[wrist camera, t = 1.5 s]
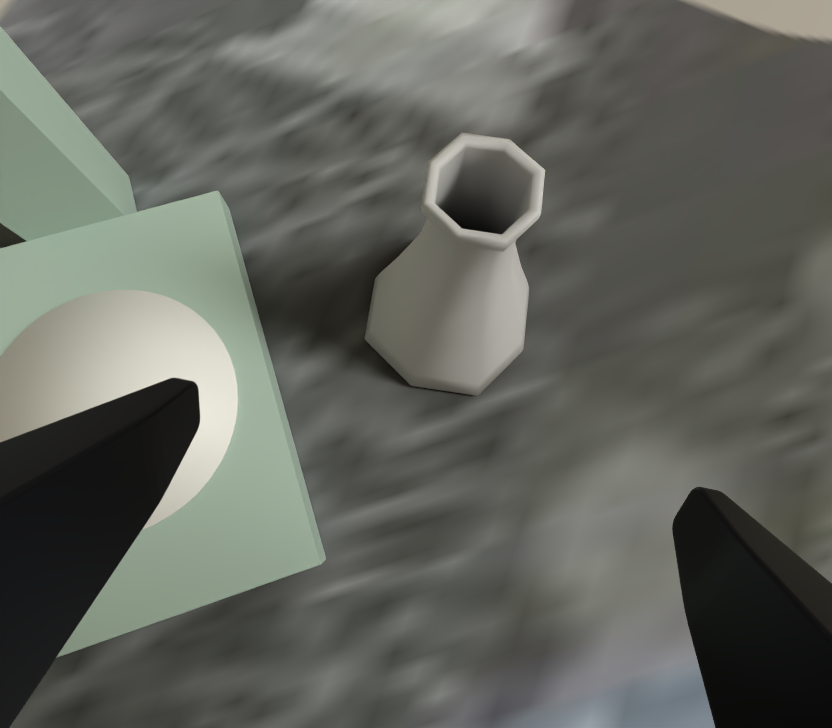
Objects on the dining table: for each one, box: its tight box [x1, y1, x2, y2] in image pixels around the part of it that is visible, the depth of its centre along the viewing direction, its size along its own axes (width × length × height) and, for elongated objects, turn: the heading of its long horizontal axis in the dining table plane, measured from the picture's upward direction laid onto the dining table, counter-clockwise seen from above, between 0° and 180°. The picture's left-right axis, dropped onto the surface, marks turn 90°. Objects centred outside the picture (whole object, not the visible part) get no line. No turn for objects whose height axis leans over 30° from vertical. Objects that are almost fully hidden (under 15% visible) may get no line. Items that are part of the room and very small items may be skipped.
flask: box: [364, 133, 545, 396], centre depth 18 cm, size 7×7×10 cm
